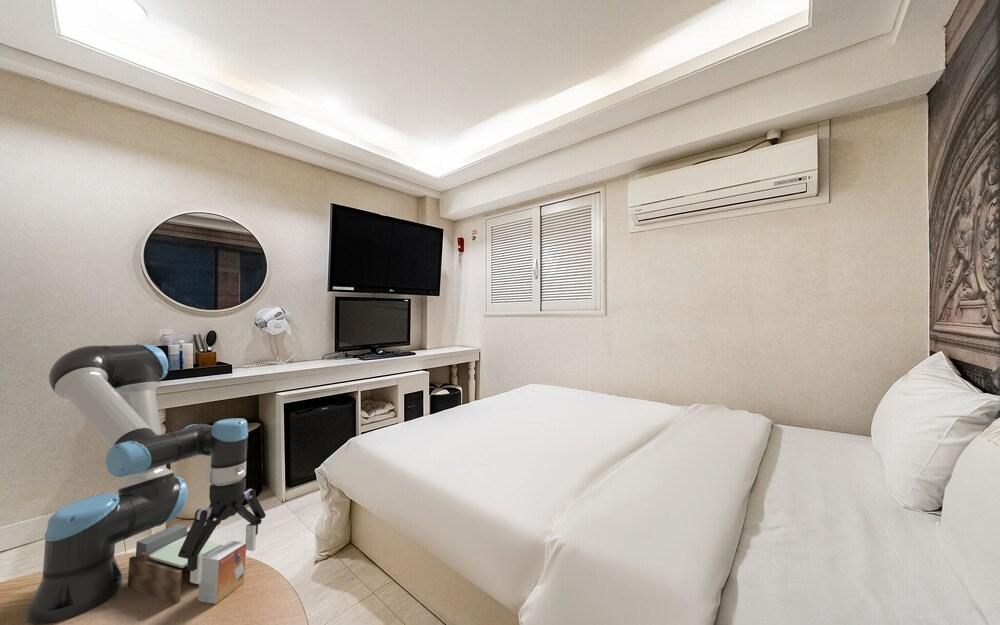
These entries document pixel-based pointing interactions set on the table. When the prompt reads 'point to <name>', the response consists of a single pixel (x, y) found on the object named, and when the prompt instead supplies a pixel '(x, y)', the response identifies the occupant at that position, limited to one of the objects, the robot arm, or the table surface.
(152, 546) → the trapdoor
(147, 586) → the trapdoor frame
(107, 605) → the table surface
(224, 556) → the small box
